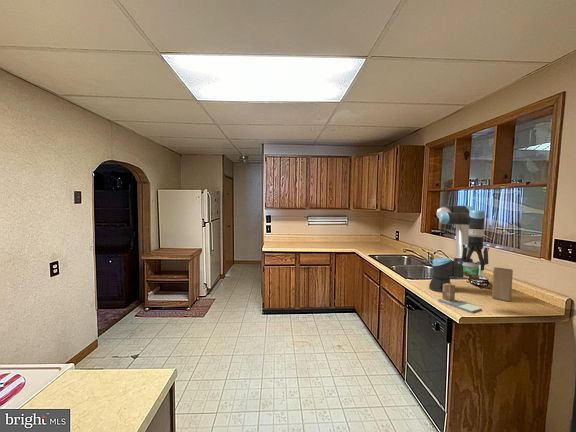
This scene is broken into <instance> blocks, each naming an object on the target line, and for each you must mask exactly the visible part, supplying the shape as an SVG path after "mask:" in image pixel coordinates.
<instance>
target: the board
mask: <svg viewBox="0 0 576 432" xmlns="http://www.w3.org/2000/svg"><path fill="white" fill-rule="evenodd" d="M437 302H439V303H441V304H445V305H448V306H451V307H453V308H455V309H456V308H457V309H459V310H461V311H465V312H467V313H470V314H473V313H477V312H481V311H482V307H479V306H477V305H473V304H470V303H466V302H464V301H460V300H458V299H455V301H451V302H449V301H446V300H443V299H442V298H440V299H437Z"/></svg>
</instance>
